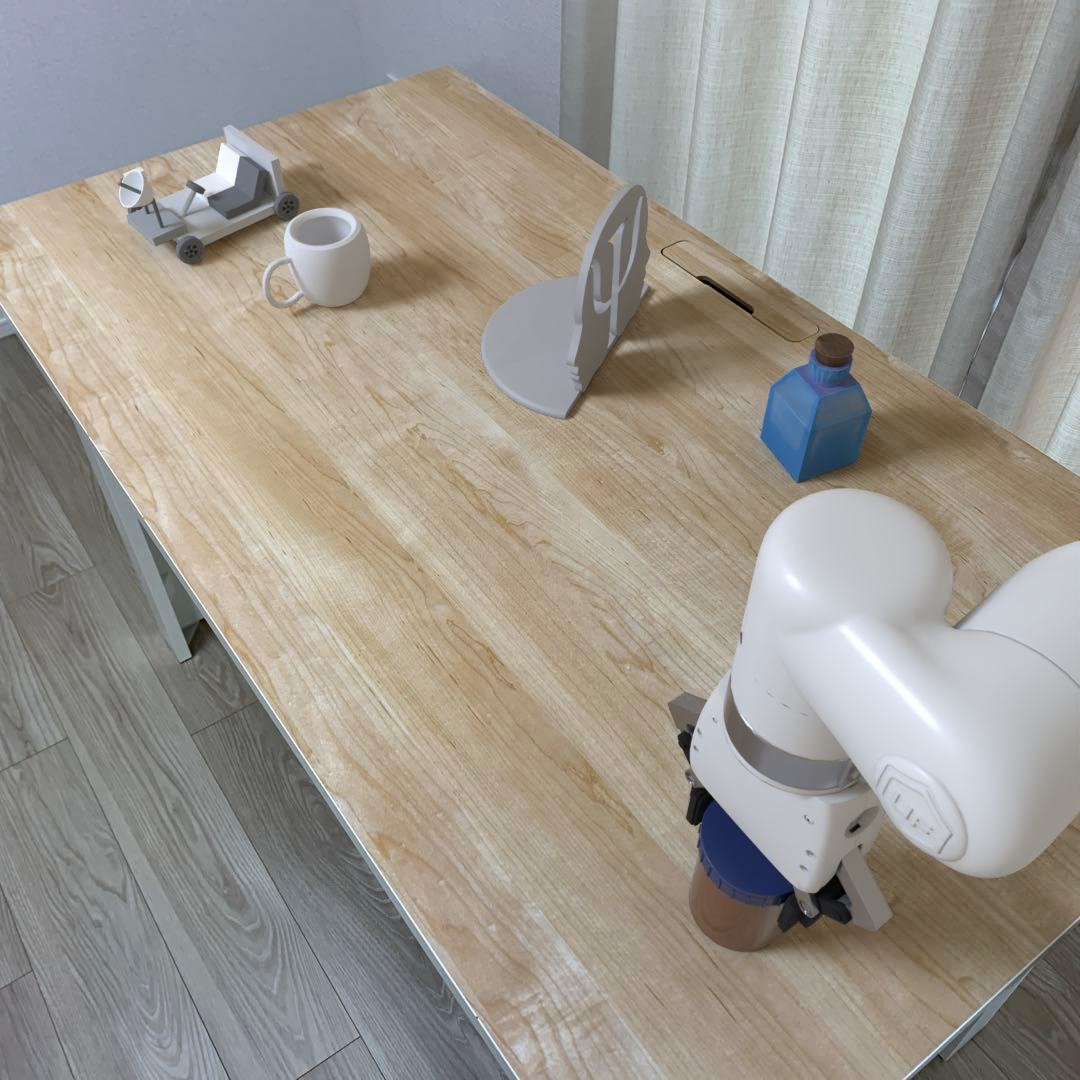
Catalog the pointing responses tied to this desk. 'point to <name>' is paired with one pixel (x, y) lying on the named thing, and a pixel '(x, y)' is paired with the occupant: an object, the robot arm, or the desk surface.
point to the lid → (738, 862)
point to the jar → (730, 916)
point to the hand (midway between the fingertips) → (752, 859)
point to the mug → (324, 258)
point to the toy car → (211, 199)
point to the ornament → (572, 314)
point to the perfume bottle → (817, 412)
